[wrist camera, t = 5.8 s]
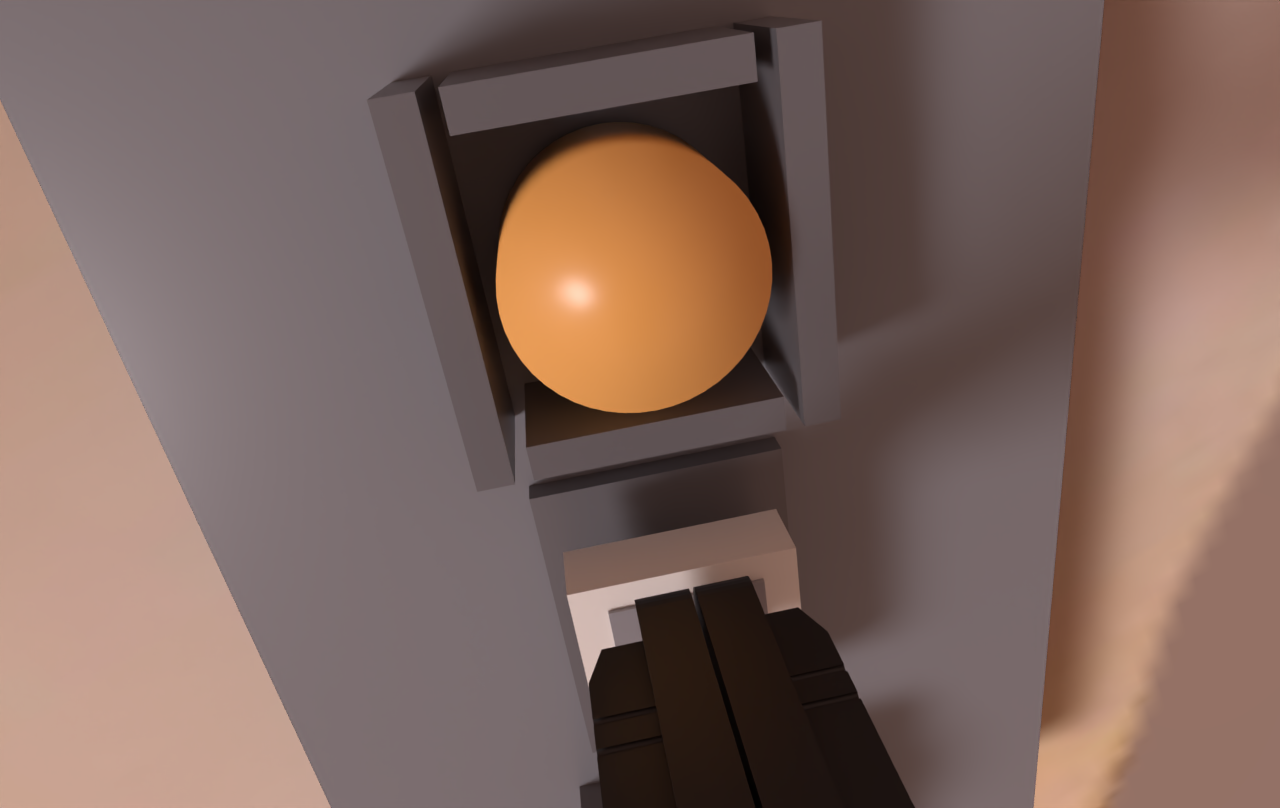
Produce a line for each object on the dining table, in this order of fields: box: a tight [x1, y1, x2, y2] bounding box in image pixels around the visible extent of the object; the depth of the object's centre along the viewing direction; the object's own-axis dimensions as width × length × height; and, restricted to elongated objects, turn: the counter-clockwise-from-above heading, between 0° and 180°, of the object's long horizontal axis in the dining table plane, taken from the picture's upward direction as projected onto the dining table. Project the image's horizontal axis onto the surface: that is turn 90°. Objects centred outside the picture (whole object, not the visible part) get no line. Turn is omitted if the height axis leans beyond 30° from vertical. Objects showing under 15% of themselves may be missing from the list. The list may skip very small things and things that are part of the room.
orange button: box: [496, 122, 772, 413], centre depth 11 cm, size 3×3×2 cm
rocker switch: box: [563, 509, 801, 686], centre depth 13 cm, size 5×3×1 cm
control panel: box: [0, 0, 1104, 808], centre depth 14 cm, size 27×14×5 cm, turn 9°
